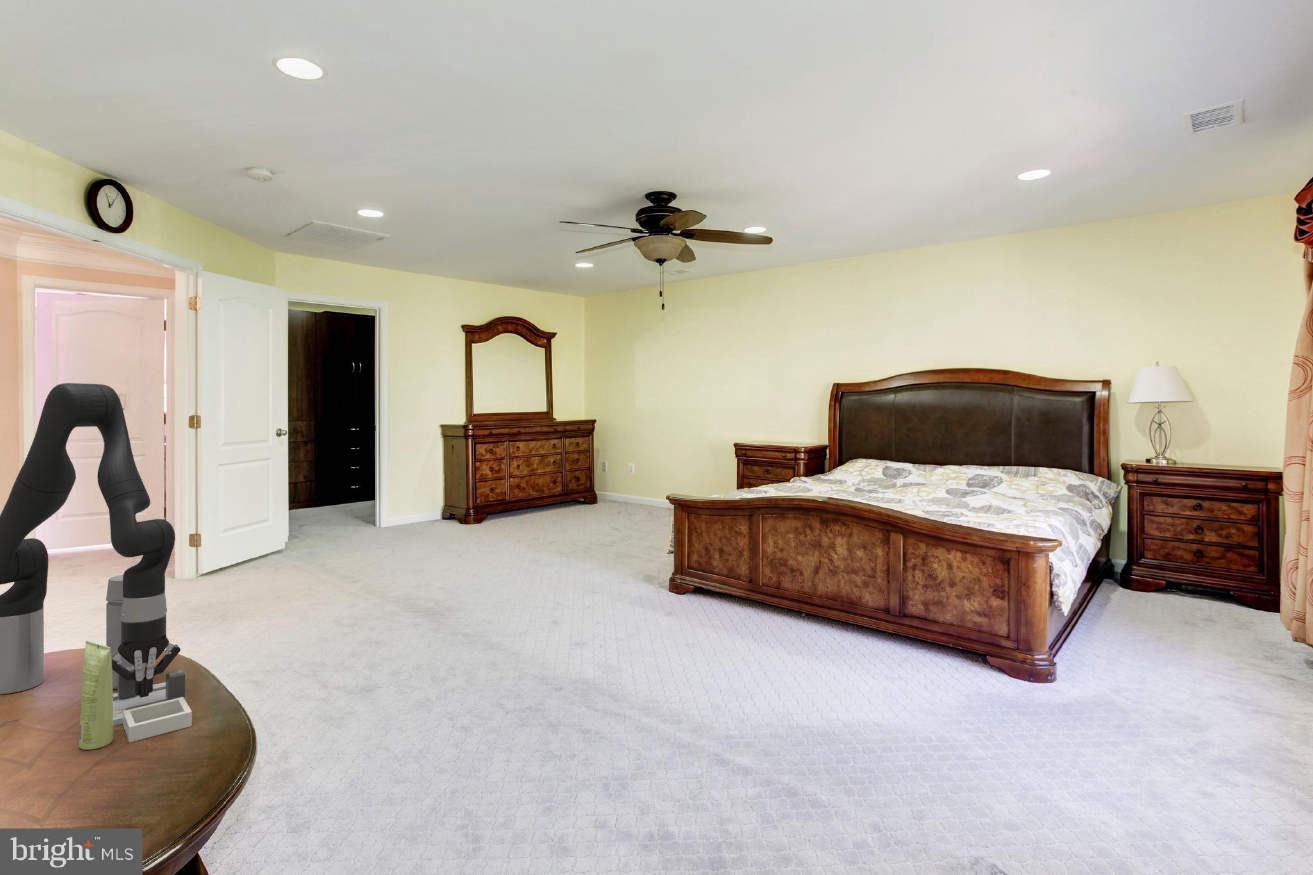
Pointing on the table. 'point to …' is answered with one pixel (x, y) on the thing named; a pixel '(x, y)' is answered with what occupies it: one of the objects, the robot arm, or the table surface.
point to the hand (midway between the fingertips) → (143, 695)
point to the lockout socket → (156, 719)
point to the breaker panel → (137, 702)
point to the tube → (96, 698)
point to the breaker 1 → (125, 685)
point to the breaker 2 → (175, 684)
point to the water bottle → (115, 621)
